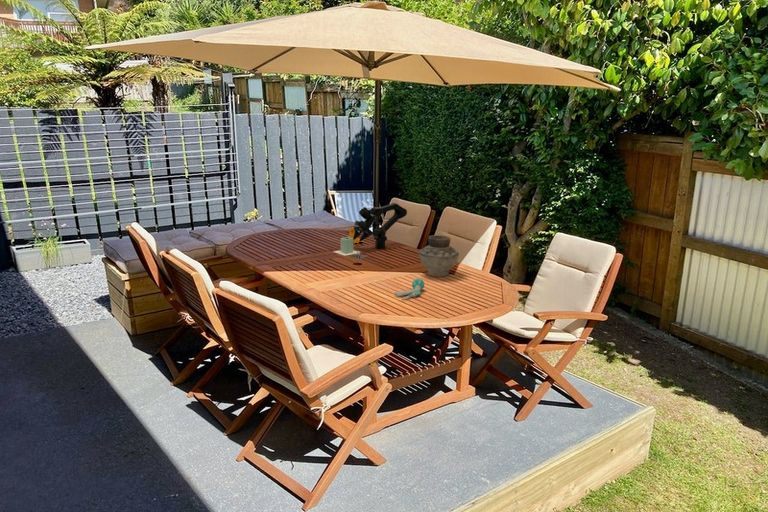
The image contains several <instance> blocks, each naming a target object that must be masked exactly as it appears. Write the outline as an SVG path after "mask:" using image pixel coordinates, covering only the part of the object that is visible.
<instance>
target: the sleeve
mask: <svg viewBox="0 0 768 512" xmlns="http://www.w3.org/2000/svg"><path fill="white" fill-rule="evenodd" d="M340 250H341V252H342V253H345V254H347V253H353V250H354V244H353V238H350V237H349V236H346V237H340Z"/></svg>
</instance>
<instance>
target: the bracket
mask: <svg viewBox="0 0 768 512" xmlns="http://www.w3.org/2000/svg"><path fill="white" fill-rule="evenodd" d="M353 228H354V227H351V228H350V229H349V233H348V237H350V238H353V237H354V233H355V232H354V229H353ZM359 240H360V238H359V236H358V237H357V238H356V239H355V240H353V242H354V243H357V244H360V243H359V242H360V241H359ZM361 242H363V243H364V240H362V241H361Z"/></svg>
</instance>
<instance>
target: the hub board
mask: <svg viewBox="0 0 768 512" xmlns="http://www.w3.org/2000/svg"><path fill="white" fill-rule="evenodd" d="M357 251H358V250H355V249H353V253H347V254H345V253H342V252H341V249H340V250H334V251H333V253H332V254H334V253H336V254H337V255H338V254H339V255H341V256H349V255H350V256H352V255H354V254H357Z"/></svg>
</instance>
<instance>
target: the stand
mask: <svg viewBox="0 0 768 512" xmlns="http://www.w3.org/2000/svg"><path fill="white" fill-rule="evenodd" d="M356 251H357V254H351V255H350V256H349V258H354V259H360V260H361V259H364V258H367V257H368V256H369V255H367V254H361V251H360V250H356Z"/></svg>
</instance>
